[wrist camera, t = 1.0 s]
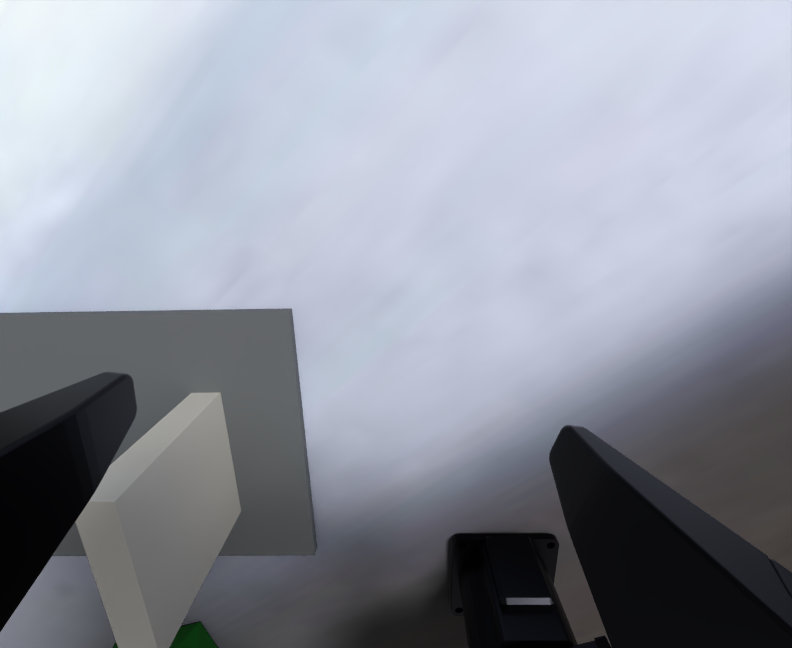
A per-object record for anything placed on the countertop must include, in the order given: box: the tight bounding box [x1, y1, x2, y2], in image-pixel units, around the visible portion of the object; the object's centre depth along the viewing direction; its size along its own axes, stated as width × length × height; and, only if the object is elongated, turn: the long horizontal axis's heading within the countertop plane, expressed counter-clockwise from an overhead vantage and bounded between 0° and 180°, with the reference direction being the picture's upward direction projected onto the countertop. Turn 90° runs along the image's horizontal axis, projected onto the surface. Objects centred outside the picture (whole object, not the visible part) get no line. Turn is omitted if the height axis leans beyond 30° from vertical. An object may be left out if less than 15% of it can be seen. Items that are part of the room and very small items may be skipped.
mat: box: [0, 309, 317, 556], centre depth 22 cm, size 16×20×1 cm
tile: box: [75, 392, 241, 648], centre depth 18 cm, size 8×2×8 cm, turn 1°
